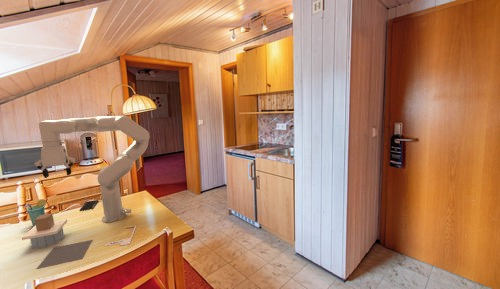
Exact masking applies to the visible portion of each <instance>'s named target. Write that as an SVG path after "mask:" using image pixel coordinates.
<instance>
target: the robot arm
mask: <svg viewBox="0 0 500 289" xmlns="http://www.w3.org/2000/svg"><path fill="white" fill-rule="evenodd" d="M38 128H39V134H40V140H41V144H42V145H41V146H42V147H41V150H40V153H41V154H40V156H41V158H40V159H39V160H36V161H35V162H34V163H33V164H34V165H35V167H37V169H39V170H40V171H41V172H42V176H43V177H44V179H47V178H49V177H50V175H49V170H48V167H57V166H58V167H59V166H64V167H65V171H66V175H67V176H70V175H71V174H72V168H71V167H73V165H74V163H75V162H76V158H74V157H71V156H69V155H68V153H67V150H66V147H65V145H63V144H65V141H64V140H62V139H61V135H60V134H63V135H65V134H67V135H68V134H72V133H78V132H80V133H81V132H96V133H103V132H117V131H118V132H119V131H121V132H122V133H123V134H124V135H126V136H128V137H129V138H131V139H132V140H133V141H132V143H131V144H130V145H129V146H128V147H127V148H126V149H124V150H123V151H122V152H121V153H120V154H118V155H116V156H115V159H114V161H113V162H111V164H109V165H105V166H103V167H101V168H100V170H99V171H98V174H97V182H98V184H99V187H100V194H101V201H102V208H103V213H104V216H102V218H101V222H103V223H114V222H117V221H120V220H122V219H124V218H125V217H126V216H127V214H130V213H132V209H130V208H125V207H124V206H123V202H122V195H121V189H120V187H121V186H120V181H121V179H122V178H123V177H125V176H126V175H128V174H129V173H130V171H131V170H132V169H133V167H134V163H135V162H136V161H137V160H138V159H139V158H140V157H141V156H142V155H143V154H144V153H145V152H146V151H147V149H148V146H149V140H150V133H149V131H148V130H147V129H146V128H144V127H143V126H141V125H140V124H138V123H137V122H136V121H134V120H133V119H131V118H130V117H129V116H128V115H127V116H126V115H110V116H109V115H108V116H107V115H106V116H92V117H83V118H77V117H76V118H64V119H58V120H54V119H51V120H41V121H39V122H38ZM69 161H70V163H69ZM41 164H42V165H41Z"/></svg>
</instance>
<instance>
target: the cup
mask: <svg viewBox="0 0 500 289" xmlns="http://www.w3.org/2000/svg"><path fill="white" fill-rule="evenodd" d="M46 205H47V201H46V200H45V199H44V198H43V199H40V198H39V200H37V201H36V205H33V206H32V205H31V204H30V203H27V204H26V205H24V206H23V207H22V208H23V209H26V208H27V207H28V208H27V210H26V212H27V213H28V216H29V218H30V221H31V224H32V228H33V227H34V226H35V225H36V224H35V219H36V218H37V217H38V216H40V215H45V214H46V213H45V212H46V211H45V210H46V209H45V208H46V207H45V206H46Z"/></svg>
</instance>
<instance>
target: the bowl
mask: <svg viewBox="0 0 500 289" xmlns="http://www.w3.org/2000/svg"><path fill="white" fill-rule="evenodd" d="M63 227H64V226H63ZM63 227H62V228H61V229H60V231H59V232H58V233H57V234H52V235H47V236H42V237H36V238H31V239H29V240H30V244H31V248H32V249H36V250H38V249H44V248H47V247H50V246H53V245H55V244H57V243H59V242H61V241H62V240H63V239H64V238H65V233H64V228H63Z"/></svg>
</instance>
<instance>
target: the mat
mask: <svg viewBox="0 0 500 289" xmlns="http://www.w3.org/2000/svg"><path fill="white" fill-rule="evenodd" d="M93 241H94V239H90V240H85V241H80V242H74V243H70V244H69V243H68V244H65V245H60V246H54V247H53V248H52V249H51V250H50V252H49V253H48V254H47V255H46V257H44V259H43V260H42V261H41V263H39V265H38V266H37V267H36V270H40V269H43V268H50V267H52V266H58V265H63V264H65V263H72V262H76V261H80V260H83V259H84V257H85V255H86V253H87V251H88V249H89V248H90V246H91V244H92V243H93Z"/></svg>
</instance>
